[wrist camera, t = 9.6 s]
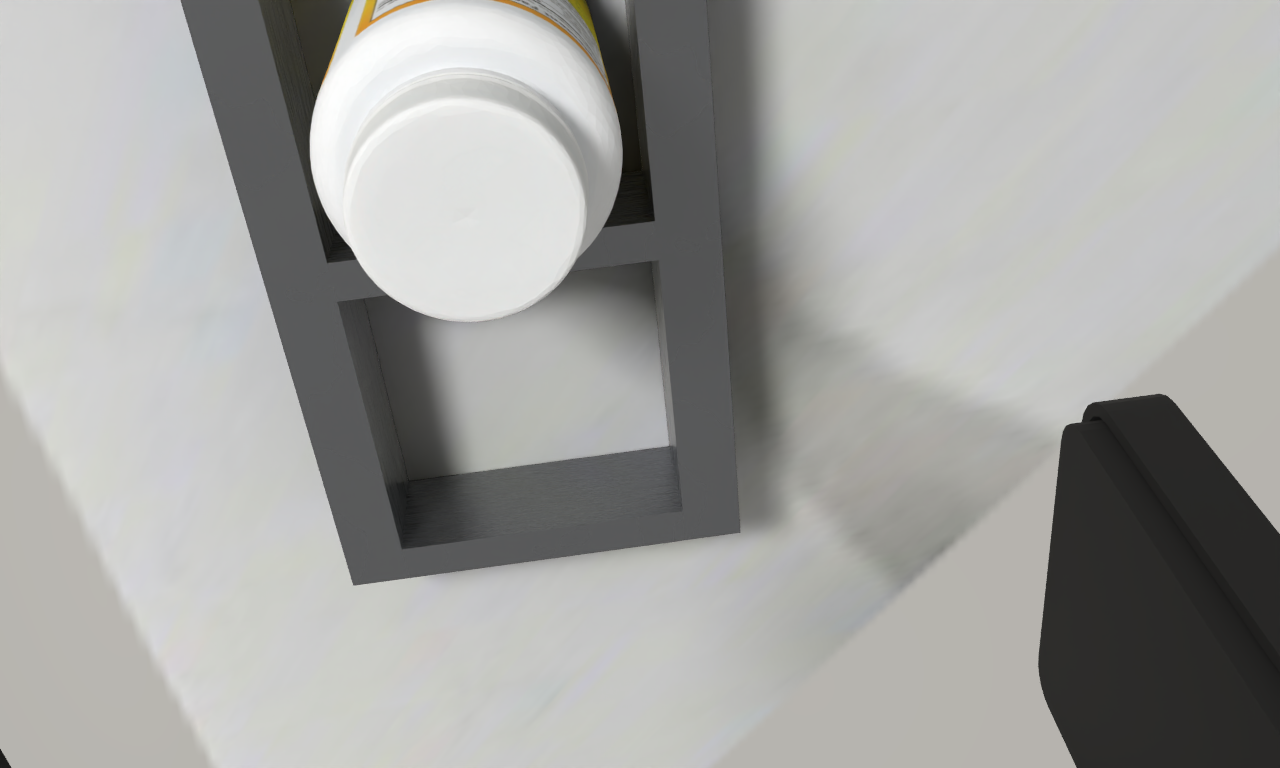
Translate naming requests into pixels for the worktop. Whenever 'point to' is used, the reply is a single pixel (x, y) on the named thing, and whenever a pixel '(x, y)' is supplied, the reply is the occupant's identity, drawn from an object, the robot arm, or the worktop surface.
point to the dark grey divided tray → (634, 232)
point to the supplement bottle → (467, 149)
